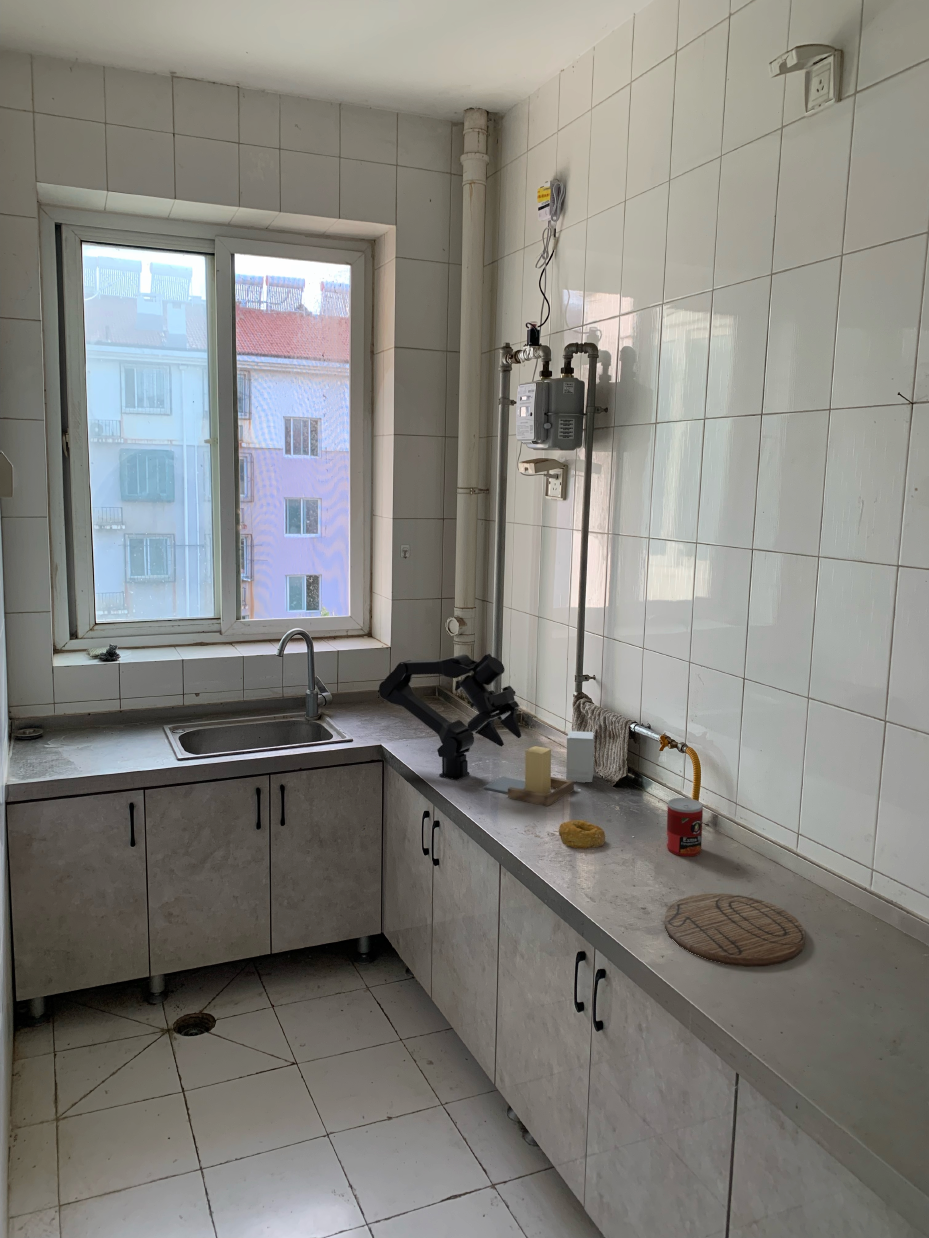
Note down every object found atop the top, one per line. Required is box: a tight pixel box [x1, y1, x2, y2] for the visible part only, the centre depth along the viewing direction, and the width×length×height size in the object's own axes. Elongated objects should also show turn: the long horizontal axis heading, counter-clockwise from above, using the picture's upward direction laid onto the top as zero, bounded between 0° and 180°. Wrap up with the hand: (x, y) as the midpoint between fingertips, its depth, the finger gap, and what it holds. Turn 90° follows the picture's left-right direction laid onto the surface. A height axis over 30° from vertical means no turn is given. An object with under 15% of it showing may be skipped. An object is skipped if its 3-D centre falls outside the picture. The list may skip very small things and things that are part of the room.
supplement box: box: [565, 730, 595, 783], centre depth 257 cm, size 7×7×13 cm
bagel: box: [558, 819, 606, 850], centre depth 214 cm, size 10×11×5 cm
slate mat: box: [483, 776, 525, 795], centre depth 251 cm, size 10×10×1 cm
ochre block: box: [524, 745, 552, 795], centre depth 245 cm, size 5×5×12 cm
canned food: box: [666, 797, 704, 857], centre depth 208 cm, size 8×8×11 cm
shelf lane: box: [507, 776, 575, 807], centre depth 245 cm, size 12×14×2 cm
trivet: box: [664, 892, 806, 968], centre depth 172 cm, size 25×25×2 cm
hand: (511, 741), depth 249 cm, fingers open, 9 cm apart
